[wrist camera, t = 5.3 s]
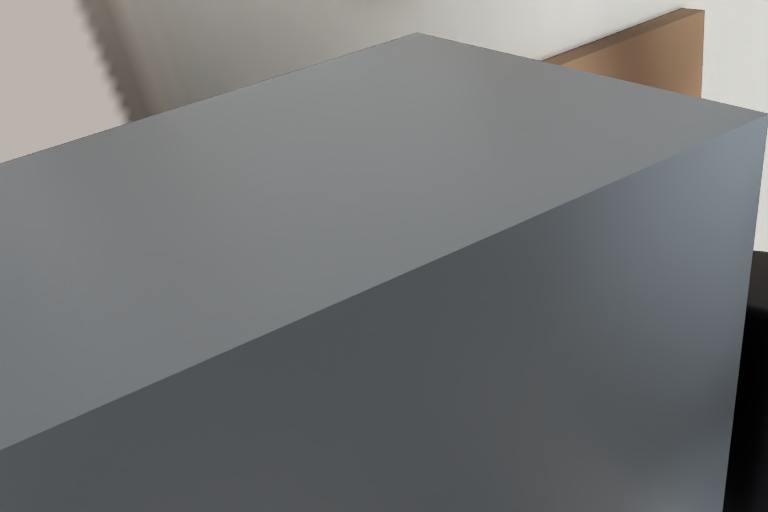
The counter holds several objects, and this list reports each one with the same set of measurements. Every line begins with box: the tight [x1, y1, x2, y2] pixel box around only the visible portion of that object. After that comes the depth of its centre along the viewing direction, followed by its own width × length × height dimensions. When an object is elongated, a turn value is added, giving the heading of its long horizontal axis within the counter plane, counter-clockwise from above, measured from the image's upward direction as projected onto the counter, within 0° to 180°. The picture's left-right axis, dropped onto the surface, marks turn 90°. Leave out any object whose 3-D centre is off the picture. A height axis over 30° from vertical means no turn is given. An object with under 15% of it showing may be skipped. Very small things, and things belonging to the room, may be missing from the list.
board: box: [542, 8, 705, 98], centre depth 24 cm, size 9×8×4 cm
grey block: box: [0, 33, 768, 512], centre depth 7 cm, size 6×6×5 cm
